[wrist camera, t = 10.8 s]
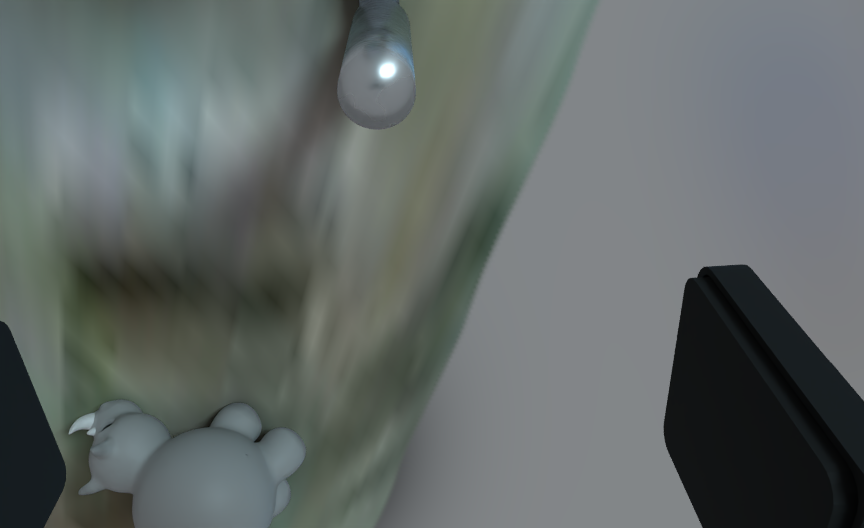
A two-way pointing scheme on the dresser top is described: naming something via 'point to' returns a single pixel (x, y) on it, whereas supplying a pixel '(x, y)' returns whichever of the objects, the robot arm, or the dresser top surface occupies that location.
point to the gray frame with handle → (378, 66)
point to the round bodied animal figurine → (192, 467)
